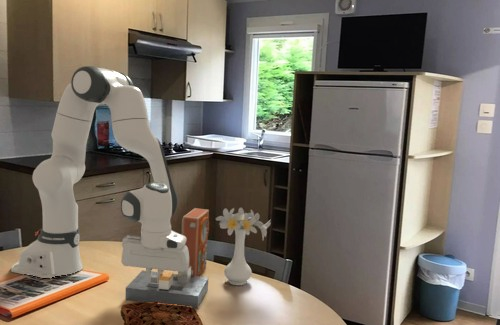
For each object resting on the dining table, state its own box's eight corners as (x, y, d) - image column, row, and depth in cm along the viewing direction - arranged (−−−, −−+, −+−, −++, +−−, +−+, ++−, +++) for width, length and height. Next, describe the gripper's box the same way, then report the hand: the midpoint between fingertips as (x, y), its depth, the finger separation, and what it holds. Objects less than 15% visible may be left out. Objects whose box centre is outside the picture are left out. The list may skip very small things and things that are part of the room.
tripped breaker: (158, 288, 139) (158, 277, 138) (163, 282, 143) (163, 271, 143) (168, 289, 138) (168, 278, 138) (172, 283, 143) (173, 272, 142)
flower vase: (266, 291, 152) (272, 216, 148) (210, 287, 152) (214, 213, 148) (266, 276, 165) (271, 207, 161) (214, 272, 165) (218, 203, 161)
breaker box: (125, 300, 139) (125, 275, 138) (142, 282, 153) (142, 259, 152) (197, 308, 137) (198, 283, 136) (207, 289, 151) (208, 266, 149)
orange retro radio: (209, 265, 171) (196, 281, 156) (190, 263, 172) (176, 278, 158) (212, 208, 168) (199, 219, 153) (193, 206, 169) (178, 217, 154)
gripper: (118, 237, 137) (117, 282, 139) (186, 244, 135) (184, 289, 137) (126, 231, 143) (125, 274, 145) (191, 237, 141) (189, 281, 143)
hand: (154, 281), depth 141 cm, fingers closed
